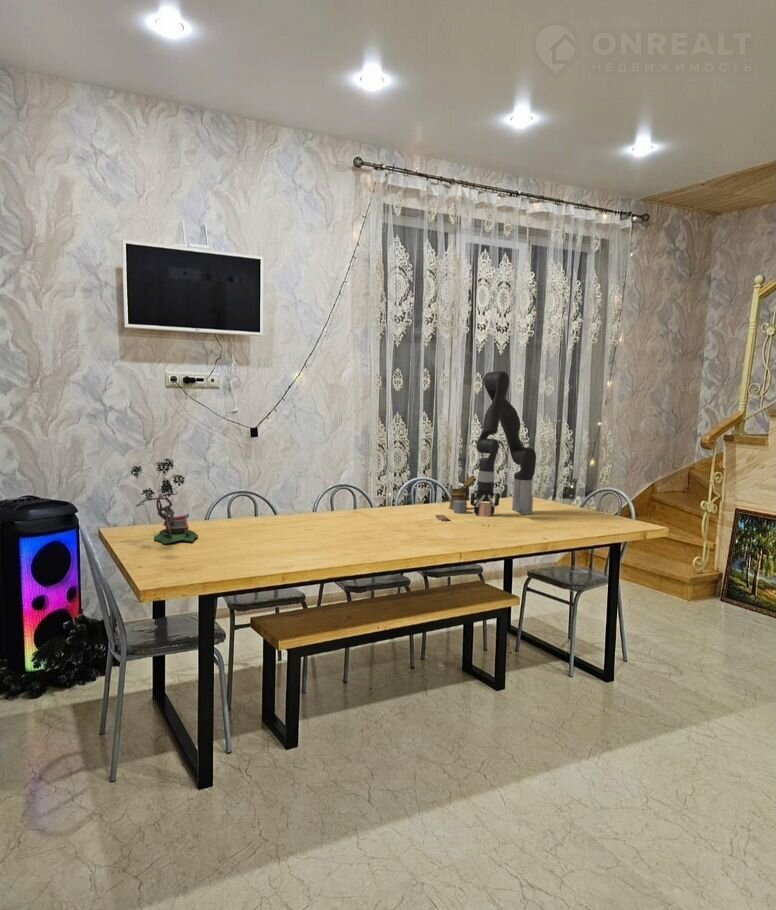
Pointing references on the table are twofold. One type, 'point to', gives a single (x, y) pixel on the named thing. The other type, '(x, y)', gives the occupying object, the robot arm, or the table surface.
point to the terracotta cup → (484, 509)
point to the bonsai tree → (174, 525)
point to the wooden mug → (461, 492)
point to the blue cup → (460, 506)
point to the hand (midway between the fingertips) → (484, 514)
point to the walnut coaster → (442, 518)
